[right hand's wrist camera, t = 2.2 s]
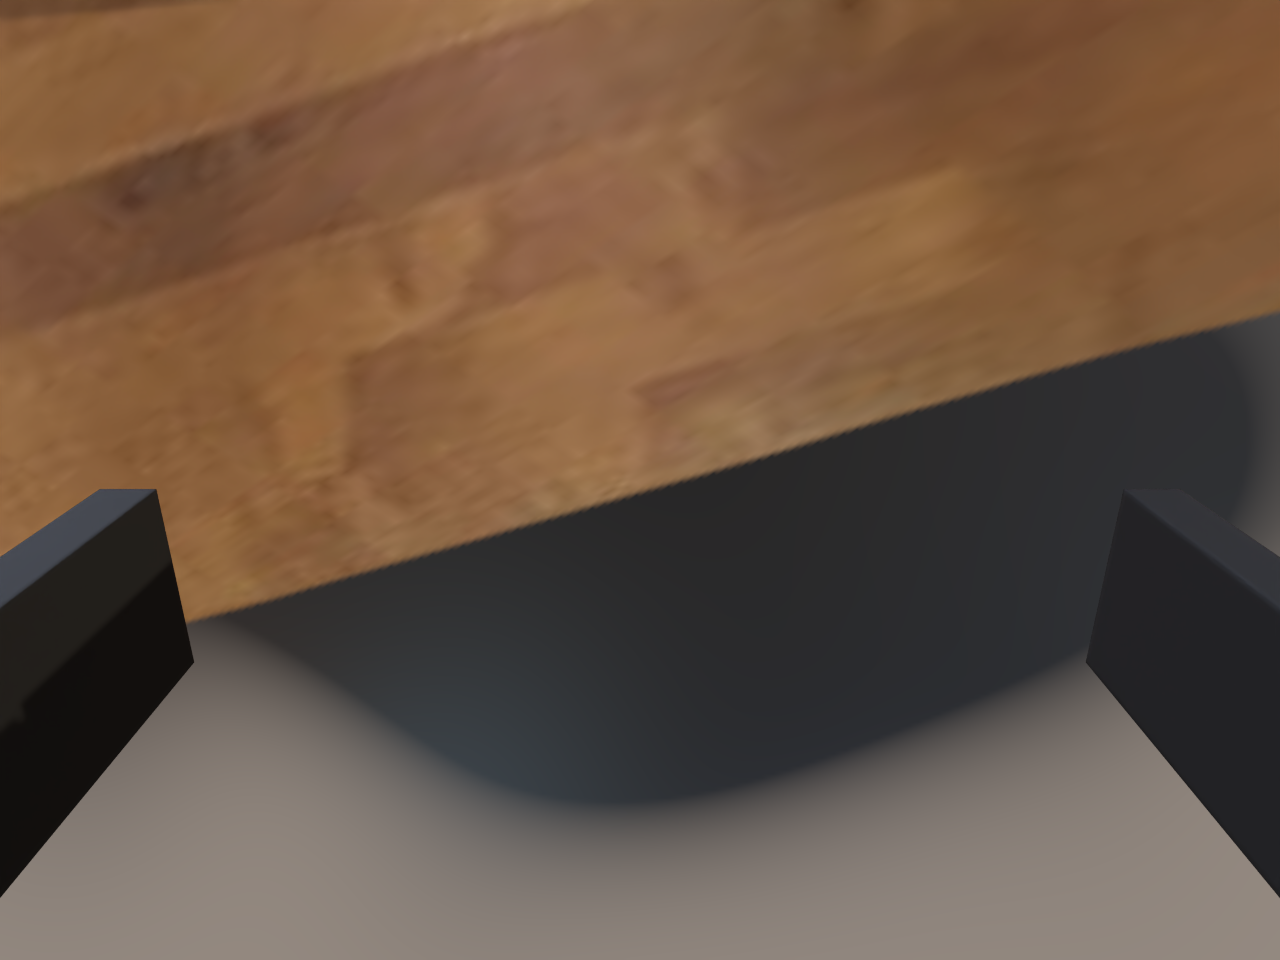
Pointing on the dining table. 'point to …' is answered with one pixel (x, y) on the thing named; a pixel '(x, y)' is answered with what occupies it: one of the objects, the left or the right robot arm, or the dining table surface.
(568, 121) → the dining table surface
